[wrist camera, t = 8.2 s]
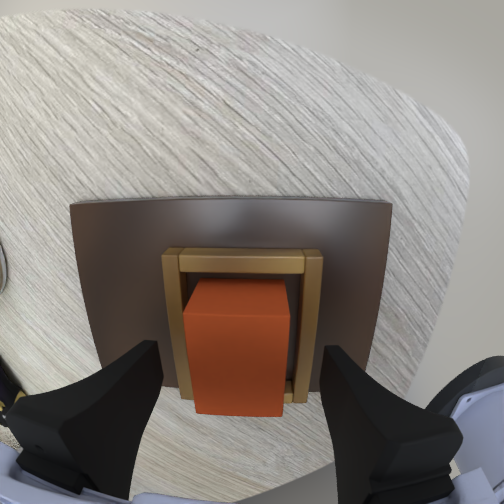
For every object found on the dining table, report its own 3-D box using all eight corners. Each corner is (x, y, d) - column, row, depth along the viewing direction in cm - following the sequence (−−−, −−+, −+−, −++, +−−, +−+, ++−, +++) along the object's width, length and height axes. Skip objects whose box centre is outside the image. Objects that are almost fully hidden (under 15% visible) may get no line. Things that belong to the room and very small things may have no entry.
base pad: (385, 200, 14) (403, 207, 12) (357, 378, 17) (365, 402, 15) (78, 201, 15) (55, 208, 13) (110, 368, 18) (97, 389, 16)
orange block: (284, 278, 14) (290, 315, 11) (279, 370, 16) (282, 417, 13) (199, 277, 15) (181, 313, 11) (207, 368, 16) (195, 413, 13)
